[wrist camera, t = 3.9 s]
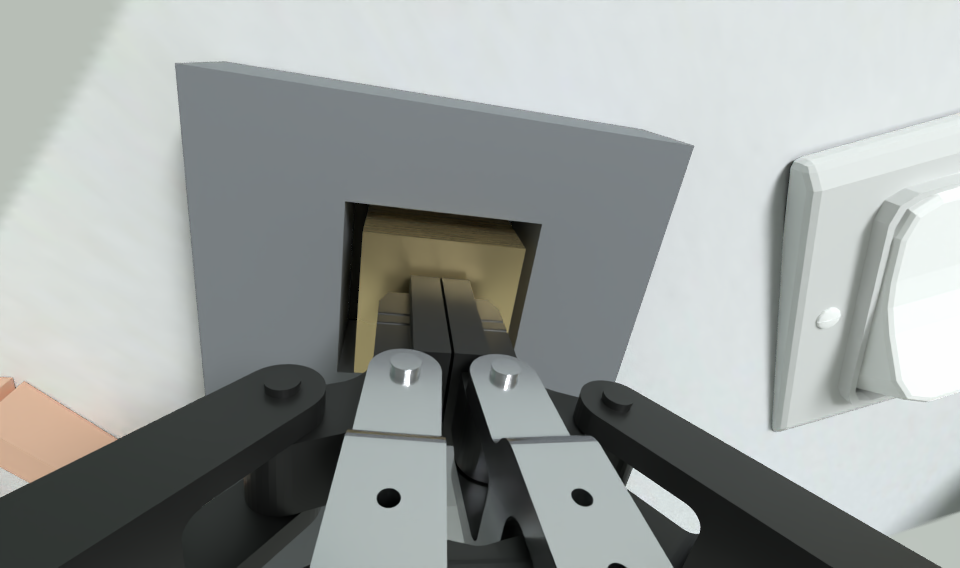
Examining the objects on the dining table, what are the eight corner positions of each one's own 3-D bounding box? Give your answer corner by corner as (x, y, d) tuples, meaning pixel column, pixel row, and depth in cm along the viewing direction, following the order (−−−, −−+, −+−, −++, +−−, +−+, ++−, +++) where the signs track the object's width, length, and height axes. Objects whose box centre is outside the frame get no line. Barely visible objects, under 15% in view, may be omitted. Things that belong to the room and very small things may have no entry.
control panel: (641, 129, 15) (696, 146, 12) (500, 622, 25) (511, 693, 22) (224, 61, 13) (172, 63, 10) (254, 635, 23) (233, 716, 20)
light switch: (818, 486, 19) (882, 191, 13) (751, 413, 23) (776, 154, 16) (1068, 412, 20) (1254, 87, 13) (964, 351, 23) (1071, 72, 17)
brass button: (503, 213, 15) (526, 249, 12) (482, 326, 16) (497, 379, 14) (371, 198, 14) (362, 232, 11) (362, 317, 16) (353, 372, 13)
